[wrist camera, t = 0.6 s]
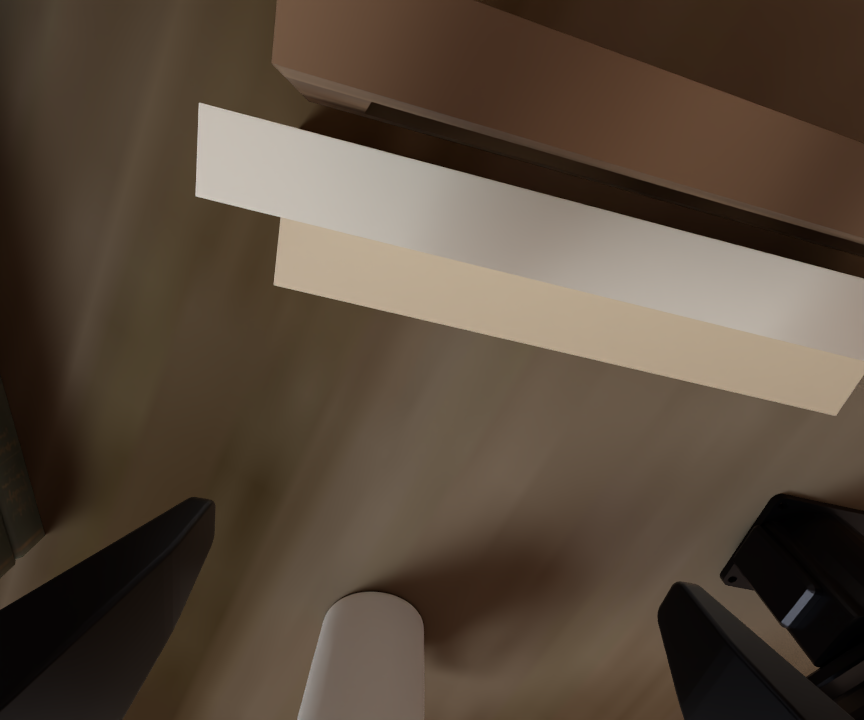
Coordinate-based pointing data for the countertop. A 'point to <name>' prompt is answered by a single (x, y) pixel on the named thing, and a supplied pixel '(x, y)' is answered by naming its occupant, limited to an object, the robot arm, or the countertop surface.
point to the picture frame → (573, 111)
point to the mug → (367, 662)
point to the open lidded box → (15, 495)
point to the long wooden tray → (537, 266)
